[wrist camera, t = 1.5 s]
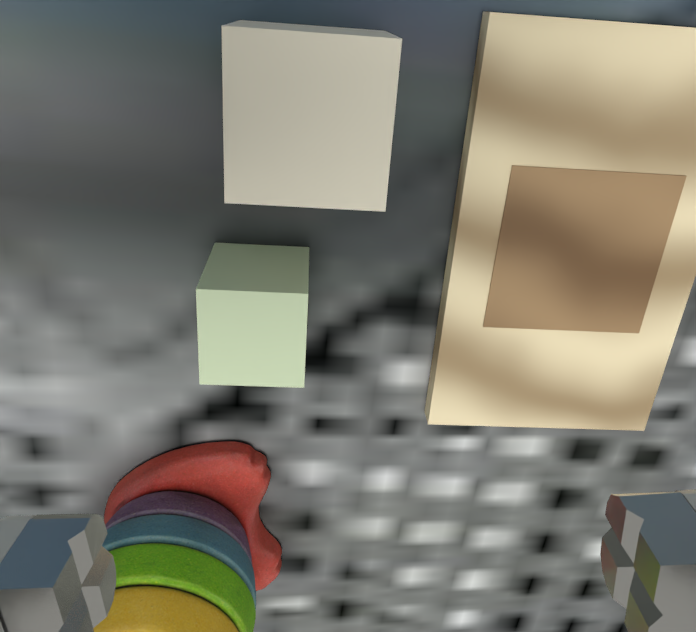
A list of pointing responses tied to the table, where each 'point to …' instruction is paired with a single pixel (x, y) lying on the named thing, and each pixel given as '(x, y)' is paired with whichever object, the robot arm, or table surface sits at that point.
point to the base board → (568, 225)
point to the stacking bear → (190, 541)
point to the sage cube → (253, 315)
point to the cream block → (308, 114)
